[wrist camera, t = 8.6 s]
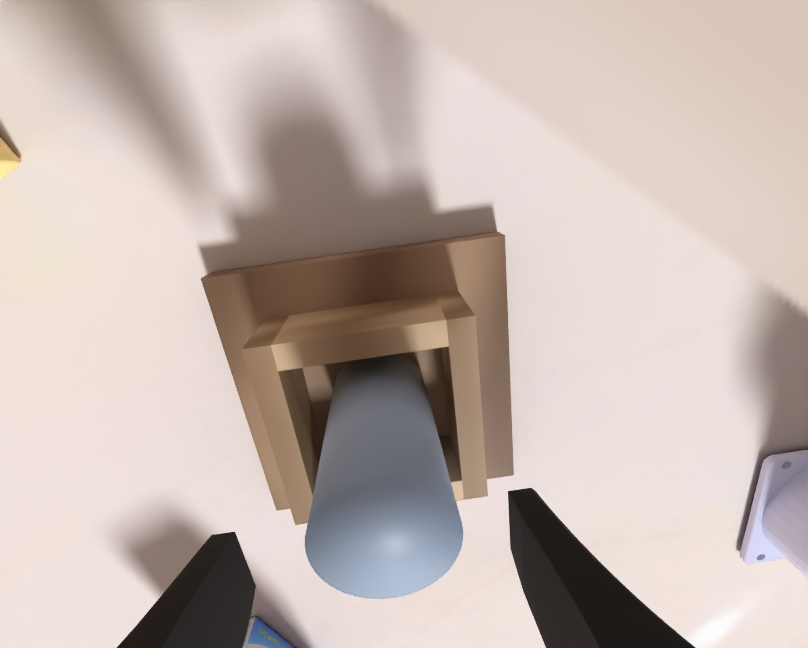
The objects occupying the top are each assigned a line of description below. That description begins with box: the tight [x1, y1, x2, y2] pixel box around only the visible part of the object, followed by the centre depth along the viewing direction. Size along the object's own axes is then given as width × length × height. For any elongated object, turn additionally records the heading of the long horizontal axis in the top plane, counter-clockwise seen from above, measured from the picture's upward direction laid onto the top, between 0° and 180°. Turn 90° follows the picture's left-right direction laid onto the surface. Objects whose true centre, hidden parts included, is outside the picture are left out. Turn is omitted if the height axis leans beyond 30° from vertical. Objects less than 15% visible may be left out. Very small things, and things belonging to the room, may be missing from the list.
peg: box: [305, 353, 463, 599], centre depth 14 cm, size 4×4×8 cm
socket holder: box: [201, 232, 514, 525], centre depth 17 cm, size 12×12×4 cm
